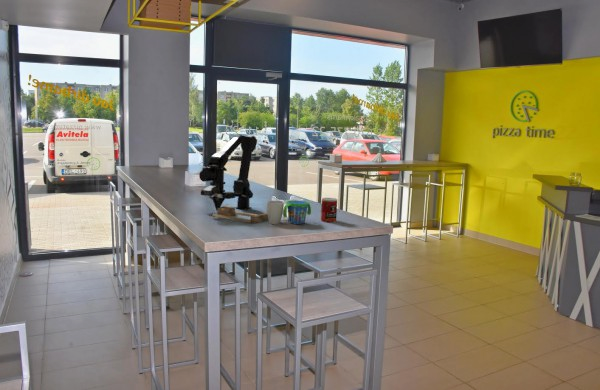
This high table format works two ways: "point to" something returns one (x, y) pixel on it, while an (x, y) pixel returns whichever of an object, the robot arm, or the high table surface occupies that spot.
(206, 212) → the high table surface
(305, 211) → the snack cup
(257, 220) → the light brown long piece
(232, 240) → the high table surface
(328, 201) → the canned food
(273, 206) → the cup
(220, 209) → the crate
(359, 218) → the high table surface
